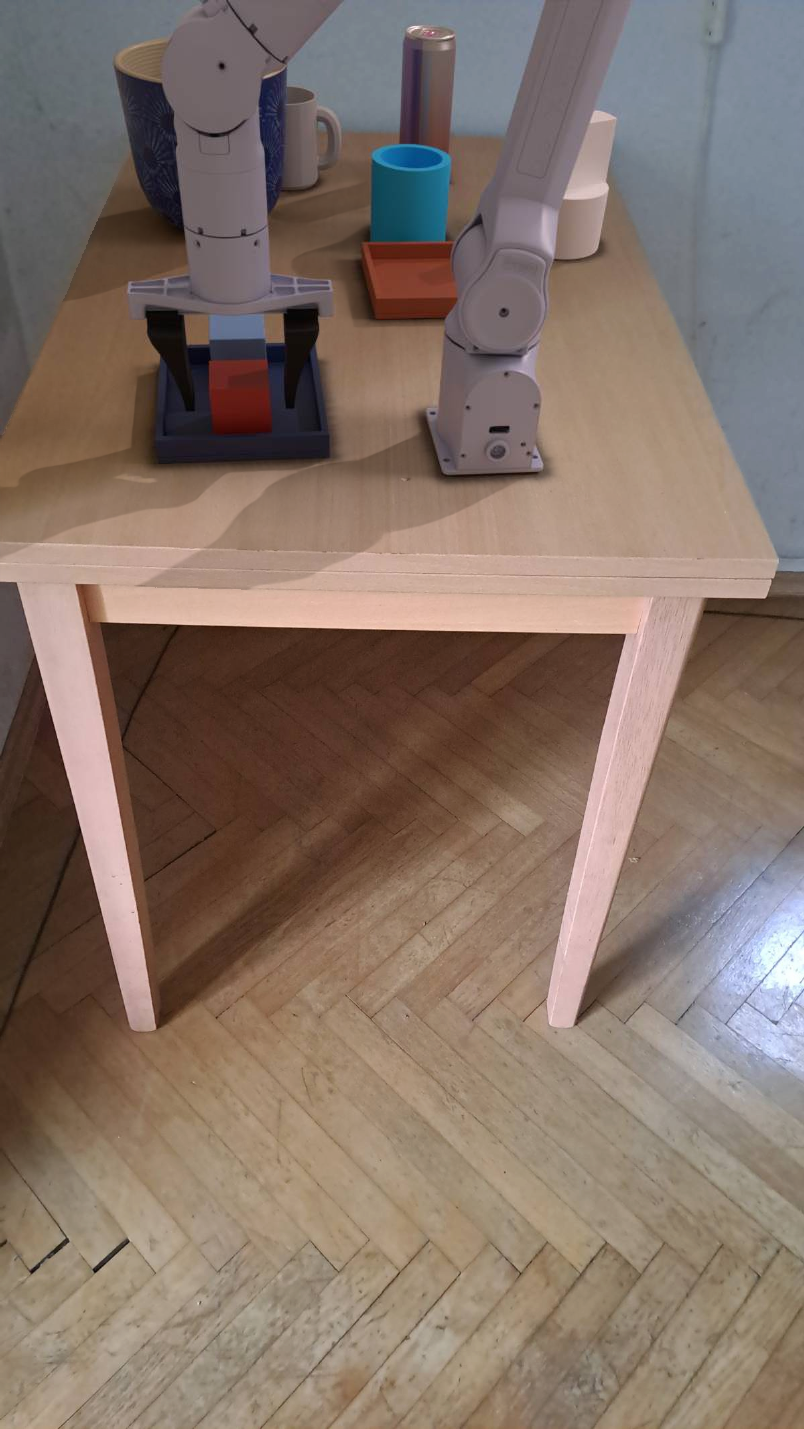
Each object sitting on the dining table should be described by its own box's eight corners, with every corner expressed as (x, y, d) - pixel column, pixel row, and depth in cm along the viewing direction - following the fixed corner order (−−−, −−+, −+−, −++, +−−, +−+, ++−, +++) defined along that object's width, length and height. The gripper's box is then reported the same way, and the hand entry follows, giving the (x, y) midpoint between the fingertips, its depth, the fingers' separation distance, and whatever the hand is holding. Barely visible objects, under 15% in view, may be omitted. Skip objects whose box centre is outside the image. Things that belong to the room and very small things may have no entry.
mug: (442, 257, 104) (448, 174, 98) (365, 251, 105) (367, 167, 99) (449, 215, 113) (455, 135, 107) (378, 209, 113) (380, 129, 107)
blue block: (268, 389, 83) (265, 338, 80) (214, 391, 83) (208, 339, 79) (266, 363, 86) (263, 313, 83) (214, 365, 86) (208, 314, 82)
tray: (501, 316, 95) (503, 296, 94) (375, 319, 94) (376, 298, 92) (476, 260, 104) (477, 240, 103) (361, 261, 103) (361, 241, 101)
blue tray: (329, 457, 77) (329, 434, 76) (157, 463, 76) (154, 440, 74) (315, 363, 88) (315, 341, 86) (163, 366, 86) (160, 344, 85)
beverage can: (391, 181, 119) (396, 34, 108) (406, 166, 123) (412, 22, 112) (439, 189, 118) (449, 40, 107) (452, 173, 122) (462, 28, 111)
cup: (259, 168, 120) (254, 84, 114) (341, 171, 121) (341, 87, 114) (255, 190, 115) (250, 103, 109) (341, 193, 116) (341, 106, 109)
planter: (299, 195, 115) (294, 40, 104) (285, 255, 103) (278, 87, 92) (152, 188, 114) (131, 31, 103) (122, 247, 103) (95, 78, 92)
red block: (272, 440, 78) (269, 387, 74) (214, 442, 77) (208, 389, 74) (270, 411, 81) (267, 359, 77) (214, 412, 80) (208, 360, 77)
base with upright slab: (563, 221, 113) (581, 101, 104) (615, 249, 108) (639, 127, 99) (499, 234, 109) (513, 112, 101) (550, 265, 104) (569, 139, 95)
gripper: (327, 200, 71) (328, 376, 81) (120, 199, 69) (147, 380, 79) (335, 239, 66) (336, 421, 76) (114, 240, 65) (143, 426, 74)
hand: (240, 403), depth 77 cm, fingers open, 7 cm apart
